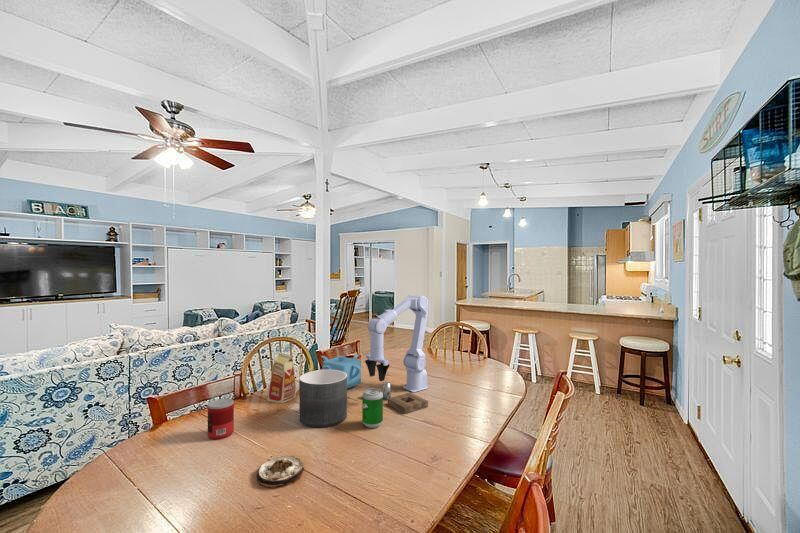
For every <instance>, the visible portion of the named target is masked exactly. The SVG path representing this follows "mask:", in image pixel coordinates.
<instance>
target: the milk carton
mask: <svg viewBox="0 0 800 533" xmlns="http://www.w3.org/2000/svg"><path fill="white" fill-rule="evenodd" d="M277 353H278V355H277V356H276V358H275V359H274V361H273V365H272V369H271V375H270V381H269V387H268V394H267V400H266V401H267V402H271V403H279V404H284V403H286V402H290V401H293V400H294V399H295V397H296V396H297V392H296V391H297V390H296V388H297V387H296V377H295V376H296V375H295V367H294V366H295V364H294V360H293V358H294V356H290V355H286V354H285V353H282V352H280V351H278V352H277Z"/></svg>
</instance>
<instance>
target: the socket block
mask: <svg viewBox="0 0 800 533" xmlns="http://www.w3.org/2000/svg"><path fill="white" fill-rule="evenodd" d="M387 406H389V407H392V408H393V409H394V410H396V411H399V412H400V413H402V414H404V415H407V414H410V413H413V412H417V411H420V410H423V409H426V408H428V407H429V401H428V399H425V398H423V397H421V396H418V395H417V394H415V393H413V392H406V393H403V394H402V393H401V394H399V395H395V396H391V397H390V398H388V401H387Z"/></svg>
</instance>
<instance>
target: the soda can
mask: <svg viewBox="0 0 800 533" xmlns="http://www.w3.org/2000/svg"><path fill="white" fill-rule="evenodd" d="M367 389H368V388H367ZM367 389H366V390H365V391H364V392H363V393H362V398H361V399H362V403H361V404H362V410H361V411H362V412H361V414H362V415H361V416H362V417H361V418H362V419H361V420H362V422H361V423H362V424H363V425H364V426H365V427H366V428H368V429H375V428H378V427H380V426H381V425H382V424H383V422H384V400H383V391H382V392H381V390H380V389H378V388H374V389H368V390H367Z"/></svg>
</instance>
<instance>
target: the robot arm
mask: <svg viewBox="0 0 800 533" xmlns="http://www.w3.org/2000/svg"><path fill="white" fill-rule="evenodd" d="M429 304H430V301H429V300H428V298H427V297H426V296H425V295H414V294H409V295H407V296H405V297H404V299H403V300H402V301H401V302H400V303H399V304H397V305H396V306H395V307H394V308H393V309H392V308H391V309H385V310H384V312H382V313H381V314H379V315H377V317H376V318H371V319H370V320H369V321H368V324H367V326H366V328H367V330H368V331H369V337H370V339H369V340H370V342H369V343H370V344H369V346H370V347H369V348H370V353H366V357H365V358H366V359H365V360H364V363H365V365H366V366H367V370H368V374H369V377H370V378H371V377H374V376H376V375H375V374H376V369H377V373H378V381H379V382H383V381H384V382H385V379H386V376H387V372H388V369H389V367H390V366H391V365H390V363H389V360H388V359H387V358H386V357H385V356H384V349H385V348H384V339H385V338H384V337H385V336H384V333H385V332H386V330H387V327H388V326H389V325H391V324H392V323H394V322H395V321H396V320H397V317H398V316H399V315H401V314H402V313H403V312H405V311H407V310H408V309H409V310H410V311H412V312H413V313H414V314H415V320H414V327H413V331H412V337H411V342H410V344H411V345H410V348H409V349H408V350H406V352H405V355H404V357H403V366H404V367H405V369H406V385H405V386H402V388H403V389H405V390H407V391H409V392H410V393H416V392H420V391H423V390H427V389H429V386H428V373H427V370H426V369H425V368H426V365H427V364H426V363H427V362H426V353H425V352H424V351H423V345H424V339H425V334H426V328H427V327H426V326H427V322H428V315H429ZM377 363H379V364H377Z"/></svg>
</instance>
